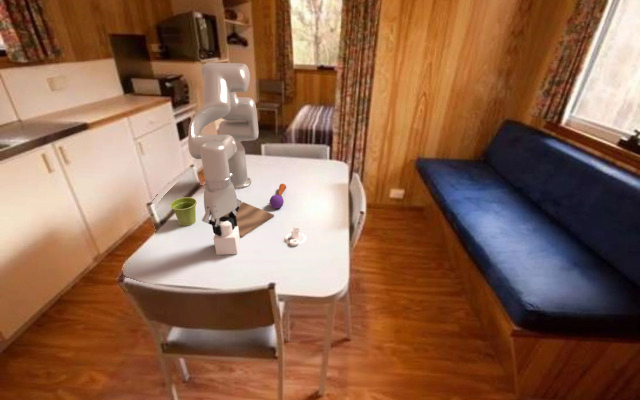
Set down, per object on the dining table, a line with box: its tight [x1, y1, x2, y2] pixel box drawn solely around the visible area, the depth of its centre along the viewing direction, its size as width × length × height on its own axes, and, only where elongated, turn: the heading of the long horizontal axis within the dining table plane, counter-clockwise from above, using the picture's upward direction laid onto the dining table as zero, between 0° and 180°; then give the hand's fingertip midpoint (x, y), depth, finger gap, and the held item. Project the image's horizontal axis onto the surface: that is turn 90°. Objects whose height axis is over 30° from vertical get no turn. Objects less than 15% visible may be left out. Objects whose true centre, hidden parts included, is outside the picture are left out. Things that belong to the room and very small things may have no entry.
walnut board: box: [214, 201, 275, 239], centre depth 125 cm, size 18×18×1 cm
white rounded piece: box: [284, 227, 307, 246], centre depth 113 cm, size 9×8×4 cm
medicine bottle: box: [213, 216, 241, 256], centre depth 105 cm, size 7×7×12 cm
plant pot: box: [169, 196, 198, 227], centre depth 120 cm, size 9×9×9 cm
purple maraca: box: [269, 183, 287, 209], centre depth 139 cm, size 6×6×20 cm
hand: (225, 229), depth 104 cm, fingers closed on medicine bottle, 6 cm apart
